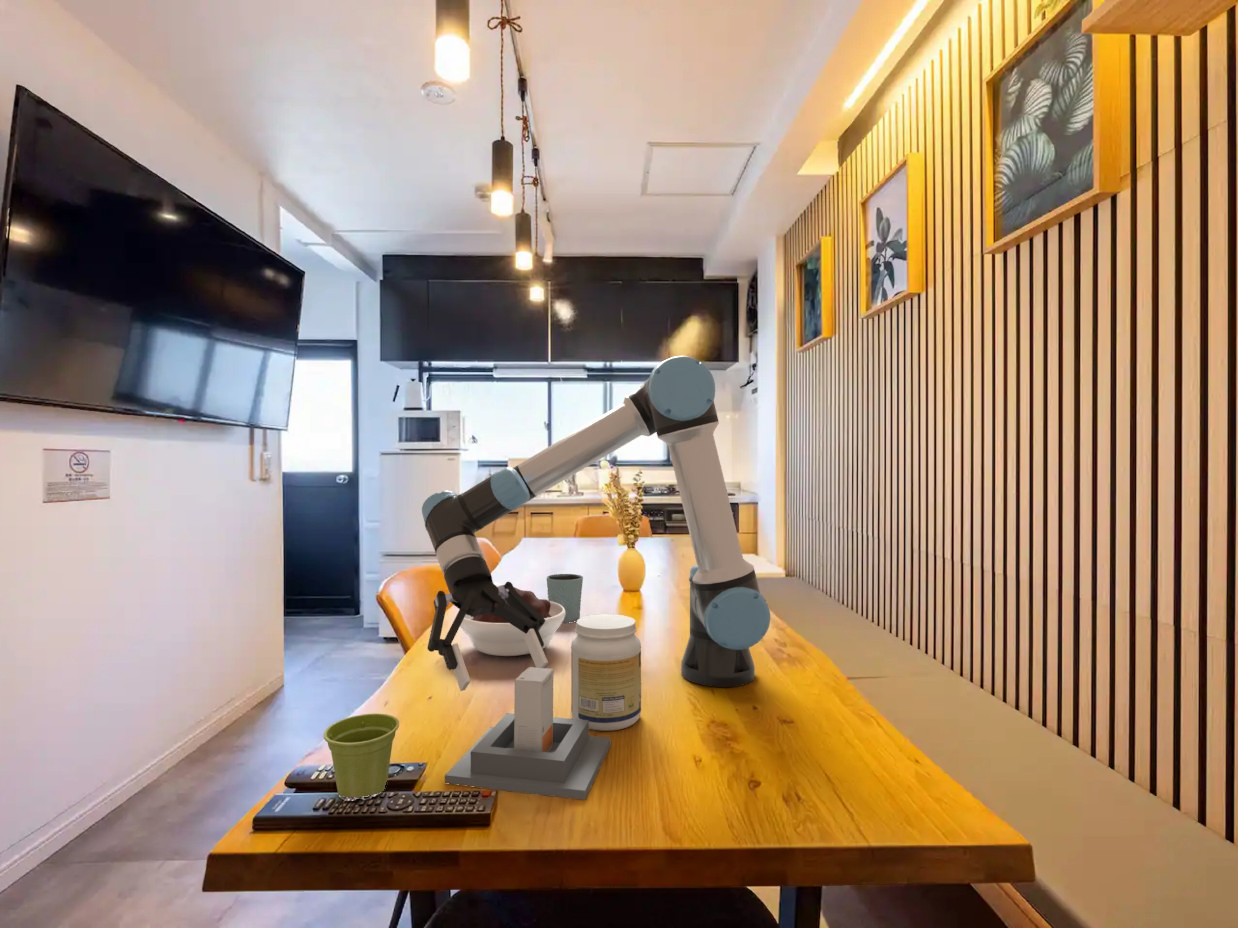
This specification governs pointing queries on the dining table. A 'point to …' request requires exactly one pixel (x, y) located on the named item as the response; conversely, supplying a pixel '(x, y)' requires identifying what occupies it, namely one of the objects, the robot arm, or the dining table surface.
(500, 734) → the slate stand
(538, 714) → the skincare box
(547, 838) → the dining table surface
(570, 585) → the teal cup
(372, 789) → the plant pot
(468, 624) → the bowl of chocolate pudding
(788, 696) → the dining table surface
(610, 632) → the supplement tub
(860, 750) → the dining table surface
